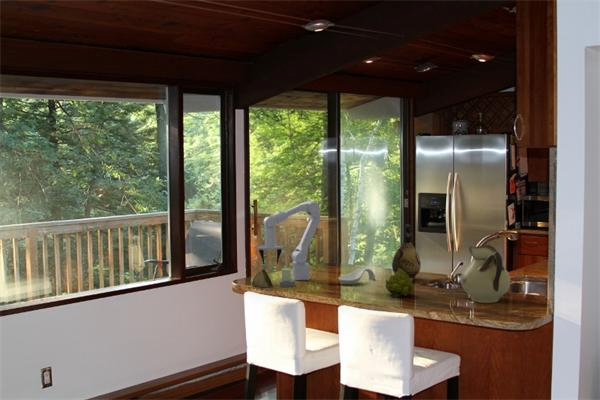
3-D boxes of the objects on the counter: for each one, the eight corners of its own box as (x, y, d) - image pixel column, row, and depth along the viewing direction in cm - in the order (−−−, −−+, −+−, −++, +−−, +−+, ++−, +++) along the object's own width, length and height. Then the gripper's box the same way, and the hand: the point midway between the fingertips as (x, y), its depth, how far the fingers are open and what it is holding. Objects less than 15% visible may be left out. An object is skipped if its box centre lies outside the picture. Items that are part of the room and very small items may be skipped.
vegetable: (392, 292, 340) (391, 263, 348) (381, 304, 354) (380, 276, 361) (422, 296, 344) (420, 267, 351) (409, 308, 357) (408, 280, 364)
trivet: (293, 284, 390) (293, 278, 390) (294, 287, 382) (294, 281, 382) (278, 284, 390) (278, 279, 389) (279, 287, 382) (279, 281, 381)
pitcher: (473, 293, 354) (473, 242, 352) (520, 299, 339) (520, 246, 337) (452, 301, 337) (452, 248, 335) (500, 308, 322) (500, 252, 320)
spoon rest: (349, 287, 378) (349, 273, 378) (333, 284, 387) (333, 271, 386) (380, 281, 394) (380, 268, 393) (364, 278, 403) (364, 265, 402)
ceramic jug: (422, 281, 388) (422, 226, 386) (393, 282, 389) (393, 226, 387) (418, 276, 405) (417, 223, 403) (390, 276, 406) (390, 223, 404)
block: (290, 279, 389) (290, 268, 388) (290, 280, 384) (290, 269, 384) (282, 279, 388) (281, 268, 388) (282, 281, 384) (281, 269, 384)
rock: (246, 282, 385) (255, 282, 376) (253, 268, 388) (263, 267, 380) (261, 292, 389) (271, 292, 381) (267, 278, 392) (278, 278, 384)
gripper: (256, 239, 393) (257, 264, 393) (283, 239, 393) (284, 264, 394) (256, 238, 400) (257, 262, 400) (283, 237, 400) (283, 262, 401)
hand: (270, 263), depth 398 cm, fingers open, 7 cm apart
